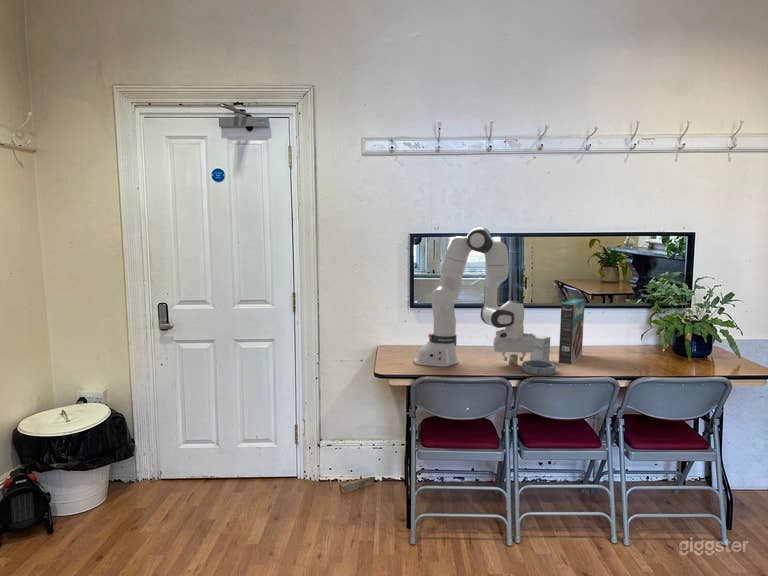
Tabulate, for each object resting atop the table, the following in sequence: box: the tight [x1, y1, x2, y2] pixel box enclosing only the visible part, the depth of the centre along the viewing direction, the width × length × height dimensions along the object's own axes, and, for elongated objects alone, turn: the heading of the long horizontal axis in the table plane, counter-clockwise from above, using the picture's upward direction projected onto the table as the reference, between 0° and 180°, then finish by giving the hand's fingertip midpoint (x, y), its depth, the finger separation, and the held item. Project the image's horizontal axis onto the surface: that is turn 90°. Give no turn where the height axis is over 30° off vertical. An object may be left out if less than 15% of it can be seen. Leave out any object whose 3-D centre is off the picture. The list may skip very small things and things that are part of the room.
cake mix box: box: [558, 298, 586, 365], centre depth 275 cm, size 22×6×30 cm, turn 146°
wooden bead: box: [508, 353, 519, 367], centre depth 264 cm, size 4×4×5 cm
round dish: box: [521, 359, 557, 377], centre depth 253 cm, size 15×15×4 cm
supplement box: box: [529, 334, 551, 362], centre depth 272 cm, size 7×7×13 cm
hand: (513, 360), depth 264 cm, fingers open, 6 cm apart
